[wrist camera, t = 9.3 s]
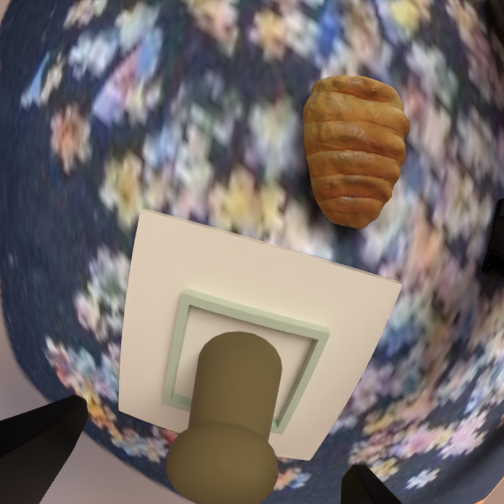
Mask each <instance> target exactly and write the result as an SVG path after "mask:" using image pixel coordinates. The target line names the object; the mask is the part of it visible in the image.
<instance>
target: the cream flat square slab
mask: <svg viewBox="0 0 504 504" xmlns="http://www.w3.org/2000/svg"><path fill="white" fill-rule="evenodd" d="M401 287H402V284H400V283H399V282H398V281H396V280H392V279H389V278H386V277H383V276H379V275H376V274H373V273H369V272H366V271H363V270H359V269H356V268H353V267H349V266H346V265H342V264H339V263H336V262H332V261H329V260H325V259H322V258H319V257H315V256H312V255H308V254H305V253H302V252H298V251H295V250H291V249H288V248H284V247H281V246H277V245H274V244H270V243H267V242H263V241H260V240H256V239H253V238H249V237H246V236H242V235H239V234H235V233H232V232H228V231H225V230H221V229H217V228H214V227H210V226H207V225H203V224H200V223H196V222H192V221H189V220H185V219H182V218H178V217H174V216H171V215H167V214H163V213H160V212H156V211H152V210H149V209H144V210H141V212H140V217H139V222H138V227H137V232H136V238H135V243H134V249H133V254H132V260H131V267H130V273H129V280H128V287H127V295H126V303H125V312H124V321H123V331H122V343H121V357H120V376H119V411H121V412H124V413H126V414H128V415H131V416H133V417H136V418H138V419H141V420H143V421H146V422H149V423H151V424H154V425H157V426H160V427H163V428H165V429H168V430H171V431H174V432H177V433H181V432H183V431H184V430H186V429H188V424H189V417H190V410H191V403H192V396H193V390H194V383H195V377H196V371H197V365H198V359H199V354H200V352H201V350H202V348H203V347H204V345H205V344H206V343H207V342H208V341H210V340H211V339H212V338H213V337H215V336H218V335H220V334H223V333H225V332H235V331H242V332H247V333H253V334H255V335H257V336H260V337H262V338H264V339H266V340H267V341H268V342H269V343H270V344H271V345H272V346H273V347H275V348H276V350H277V352H278V354H279V356H280V358H281V362H282V374H281V380H280V385H279V391H278V396H277V401H276V406H275V411H274V416H273V421H272V426H271V431H270V435H269V440H268V443H269V444H270V445H271V447H272V448H273V449H274V452H275V455H276V456H279V457H286V458H293V459H301V460H310V459H311V458H312V457H313V455H314V454H315V452H316V451H317V449H318V448H319V446H320V445H321V443H322V442H323V440H324V439H325V437H326V436H327V434H328V433H329V431H330V430H331V428H332V426H333V425H334V423H335V422H336V420H337V418H338V417H339V415H340V413H341V412H342V410H343V408H344V407H345V405H346V403H347V401H348V400H349V398H350V396H351V394H352V393H353V391H354V389H355V387H356V385H357V383H358V382H359V380H360V378H361V376H362V374H363V372H364V370H365V368H366V366H367V364H368V362H369V360H370V358H371V356H372V354H373V352H374V350H375V348H376V346H377V344H378V342H379V339H380V337H381V335H382V333H383V331H384V328H385V326H386V324H387V322H388V319H389V317H390V315H391V312H392V310H393V307H394V305H395V302H396V300H397V297H398V295H399V292H400V290H401Z"/></svg>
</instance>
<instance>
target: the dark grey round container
mask: <svg viewBox="0 0 504 504" xmlns="http://www.w3.org/2000/svg"><path fill="white" fill-rule="evenodd" d="M487 3H488V6H489V10H490V14H491V17H492V21H493V25H494V30H495V33H496V35H497V36H498V38H499V40H500V41H501V43H502V45H503V47H504V0H488V1H487Z"/></svg>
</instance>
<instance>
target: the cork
mask: <svg viewBox="0 0 504 504" xmlns="http://www.w3.org/2000/svg"><path fill="white" fill-rule="evenodd" d="M281 374H282V362H281V358H280V356H279V354H278V352H277V350H276V348H275V347H273V346H272V345H271V344H270V343H269V342H268V341H267V340H266V339H264V338H262V337H260V336H257V335H255V334H253V333H247V332H242V331H235V332H225V333H223V334H220V335H218V336H215V337H213V338H212V339H211V340H210V341H208V342H207V343H206V344H205V345H204V347H203V348H202V350H201V352H200V354H199V359H198V365H197V371H196V377H195V383H194V390H193V396H192V403H191V410H190V417H189V424H188V429H186V430H184V431H183V432H181V433H180V434H179V435H178V437H177V438H176V439H175V440H174V442H173V443H172V445H171V447H170V448H169V451H168V453H167V456H166V472H167V476H168V478H169V480H170V482H171V484H172V486H173V487H174V489H175V490H176V491H178V492H179V493H180V494H181V495H183V496H184V497H186V498H187V499H189V500H191V501H193V502H195V503H197V504H259V503H260V502H262V501H263V500H264V499H266V498H267V496H268V495H269V494H270V493H271V492H272V490H273V488H274V486H275V484H276V481H277V478H278V463H277V457H276V455H275V452H274V449H273V448H272V447H271V445H270V444H269V443H268V440H269V435H270V431H271V426H272V421H273V416H274V411H275V406H276V401H277V396H278V391H279V385H280V380H281Z"/></svg>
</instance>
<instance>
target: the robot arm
mask: <svg viewBox="0 0 504 504" xmlns="http://www.w3.org/2000/svg"><path fill="white" fill-rule="evenodd" d="M487 267H488V269H487ZM482 271H483V273H484V274H487V275H489V276H491V277H493V278H496V279H498V280H500V281H503V282H504V198H501V199H500V202H499V206H498V211H497V216H496V220H495V224H494V228H493V232H492V236H491V240H490V243H489V247H488V250H487V254H486V257H485V260H484V263H483V267H482ZM87 420H88V409H87V402H86V400H85V399H84V398H82V397H80V396H78V395H72V396H69V397H67V398H64V399H61V400H59V401H56V402H53V403H50V404H48V405H45V406H42V407H39V408H36V409H34V410H31V411H28V412H25V413H22V414H19V415H16V416H13V417H10V418H7V419H4V420H1V421H0V504H39V503H40V502H41V500H42V498H43V497H44V495H45V494H46V492H47V490H48V489H49V487H50V485H51V484H52V482H53V481H54V479H55V478H56V476H57V475H58V473H59V471H60V470H61V468H62V467H63V465H64V463H65V462H66V461H67V459H68V458H69V456H70V454H71V453H72V451H73V449H74V447H75V445H76V443H77V441H78V439H79V436H80V434H81V432H82V430H83V428H84V426H85V424H86V422H87ZM341 504H403V503H402V502H401V501H400V500H399V499H398V498H397V497H396V496H395V495H394V494H393V493H392V492H391V491H390V490H389V489H388V488H387V487H386V486H385V485H384V484H383V483H382V482H381V481H380V479H379V478H378V477H377V476H376V475H375V474H374V473H373V472H372V471H371V470H370V469H369V468H368V467H367V466H366V465H365V464H354V465H352V466H351V467H350V469H349V470H348V471H347V472H346V474H345V475H344V476H343V478H342V483H341Z"/></svg>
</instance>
